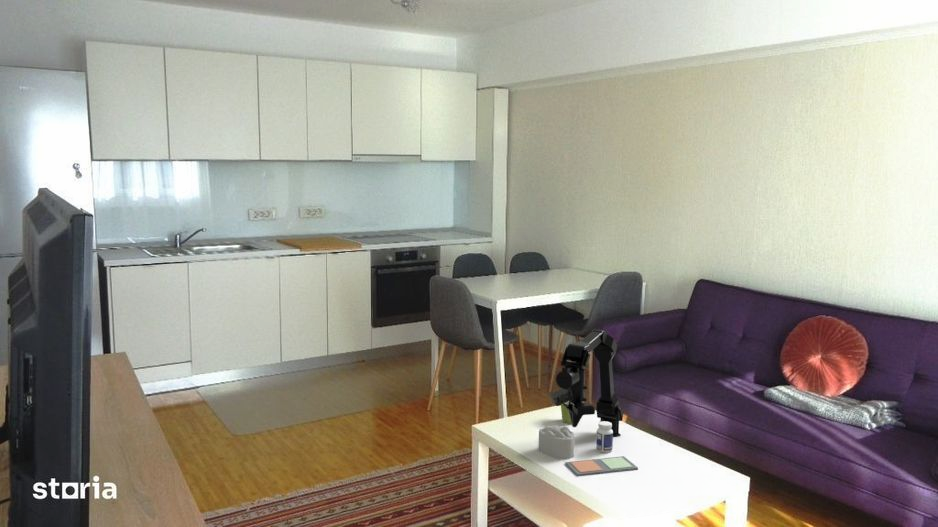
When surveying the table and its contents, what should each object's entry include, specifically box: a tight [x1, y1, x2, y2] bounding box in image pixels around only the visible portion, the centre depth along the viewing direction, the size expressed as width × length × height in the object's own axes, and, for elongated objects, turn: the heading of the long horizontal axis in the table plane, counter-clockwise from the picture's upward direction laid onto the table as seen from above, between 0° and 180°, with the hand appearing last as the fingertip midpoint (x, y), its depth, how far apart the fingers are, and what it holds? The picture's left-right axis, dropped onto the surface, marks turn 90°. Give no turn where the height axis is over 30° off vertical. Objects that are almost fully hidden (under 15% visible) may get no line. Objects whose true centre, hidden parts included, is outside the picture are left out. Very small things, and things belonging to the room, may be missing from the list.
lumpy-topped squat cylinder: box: [537, 424, 575, 460], centre depth 251 cm, size 10×13×9 cm
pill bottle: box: [595, 421, 614, 454], centre depth 254 cm, size 6×6×10 cm
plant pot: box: [560, 403, 572, 425], centre depth 282 cm, size 9×9×9 cm
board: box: [564, 455, 639, 477], centre depth 240 cm, size 22×10×1 cm, turn 106°
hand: (574, 426), depth 239 cm, fingers closed
